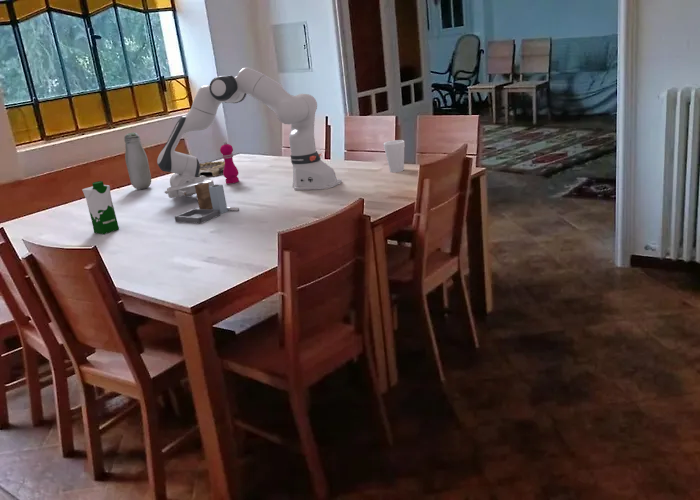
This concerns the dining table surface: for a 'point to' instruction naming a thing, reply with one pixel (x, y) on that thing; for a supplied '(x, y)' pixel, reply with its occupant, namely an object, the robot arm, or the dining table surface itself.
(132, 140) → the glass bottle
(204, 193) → the walnut block
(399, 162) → the foam cup
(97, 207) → the milk carton
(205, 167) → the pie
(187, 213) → the tray
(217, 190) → the greyblue block
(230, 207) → the pin gauge
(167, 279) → the dining table surface
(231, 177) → the pepper mill
